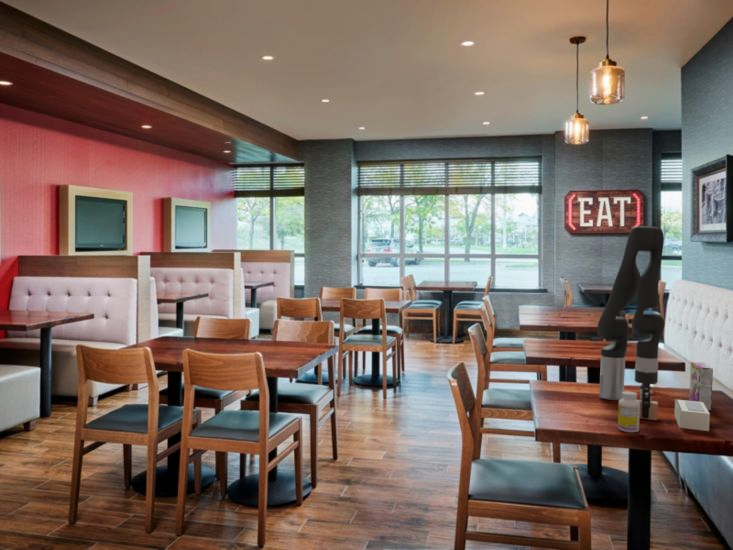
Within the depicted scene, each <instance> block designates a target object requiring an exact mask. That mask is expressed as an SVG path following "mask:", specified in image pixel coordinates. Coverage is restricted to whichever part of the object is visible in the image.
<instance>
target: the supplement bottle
mask: <svg viewBox="0 0 733 550" xmlns="http://www.w3.org/2000/svg"><path fill="white" fill-rule="evenodd" d="M622 397H623V398H622V399H620V400H618V407H617V409H618V410H617V411H618V412H617V429H618V430H620V431H622V432H623V433H624V432H625V433H638V432H639V430H640V418H639V416H640V403H639V401H637V400H638V399H637V397H638V393H637V392H635V391H630V390H628V391H627V390H624V391H623V392H622ZM636 399H637V400H636Z"/></svg>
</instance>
